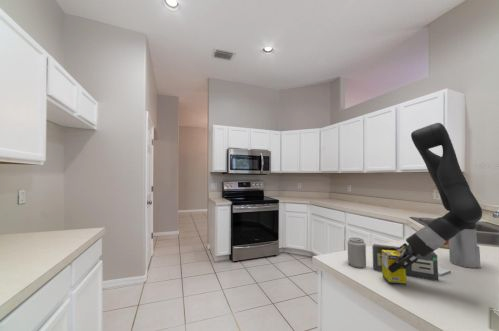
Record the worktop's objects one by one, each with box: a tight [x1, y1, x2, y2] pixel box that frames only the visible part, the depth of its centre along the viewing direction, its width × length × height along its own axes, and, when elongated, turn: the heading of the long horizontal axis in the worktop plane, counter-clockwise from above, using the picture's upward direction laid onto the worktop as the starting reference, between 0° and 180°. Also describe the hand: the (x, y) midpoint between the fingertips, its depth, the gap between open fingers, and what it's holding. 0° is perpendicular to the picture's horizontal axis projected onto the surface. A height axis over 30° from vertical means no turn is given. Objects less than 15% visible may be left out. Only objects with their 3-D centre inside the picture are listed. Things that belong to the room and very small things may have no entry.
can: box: [347, 237, 367, 269], centre depth 95 cm, size 8×8×12 cm
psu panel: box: [371, 243, 439, 282], centre depth 87 cm, size 22×4×11 cm, turn 65°
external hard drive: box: [438, 266, 452, 277], centre depth 92 cm, size 2×8×12 cm
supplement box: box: [381, 250, 407, 286], centre depth 80 cm, size 6×6×11 cm
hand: (388, 266), depth 81 cm, fingers closed on supplement box, 7 cm apart
